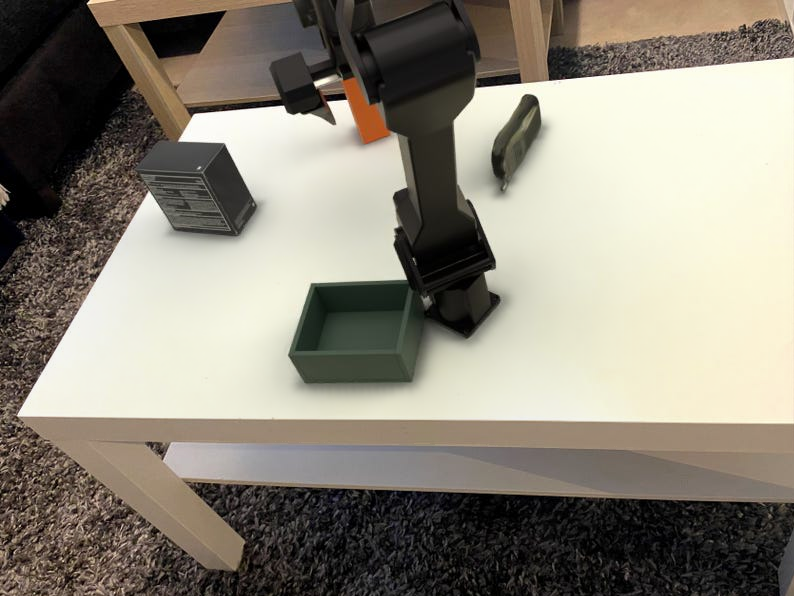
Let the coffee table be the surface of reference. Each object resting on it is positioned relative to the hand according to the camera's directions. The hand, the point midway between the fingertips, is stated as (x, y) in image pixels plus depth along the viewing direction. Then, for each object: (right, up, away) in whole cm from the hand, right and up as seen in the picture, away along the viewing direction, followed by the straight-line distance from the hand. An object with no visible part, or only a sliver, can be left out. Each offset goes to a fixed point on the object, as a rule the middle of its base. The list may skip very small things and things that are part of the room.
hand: (369, 109), depth 89 cm
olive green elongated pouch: (+19, -3, +8) cm, 21 cm away
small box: (-23, -11, +11) cm, 27 cm away
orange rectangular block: (-2, +2, +17) cm, 17 cm away
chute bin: (+1, -29, -7) cm, 30 cm away
